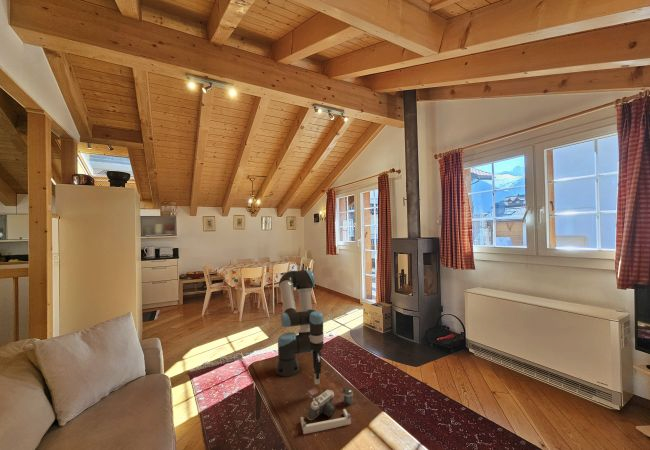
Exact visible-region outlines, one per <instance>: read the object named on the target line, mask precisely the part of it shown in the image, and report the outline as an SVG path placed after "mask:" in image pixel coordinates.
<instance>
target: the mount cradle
mask: <svg viewBox="0 0 650 450" xmlns="http://www.w3.org/2000/svg"><path fill="white" fill-rule="evenodd" d="M342 411H343V412H342V413H343V416H344V417H338V418H333V419H328V420H323V421H318V422H313V423H312V422H311V423H307V422H306V421H305V420H304V416H300V425H301V429H302V433H303V435H306V434H311V433H316V432H321V431H327V430H331V429H335V428H339V427H343V426H348V425H351V424H352V418H351V416H352V415H351V413H348V411H347V409H346V408H343V410H342Z"/></svg>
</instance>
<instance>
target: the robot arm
mask: <svg viewBox="0 0 650 450" xmlns="http://www.w3.org/2000/svg"><path fill="white" fill-rule="evenodd" d="M315 284H316V283H315V276H314V273H313V271H312V270H310V269H303V270H288V271H286V272H285V273H284V274H283V275H281V277H280V278H279V281H278V289H279V291H280V293H281V302H282V309H283V311H282V312H283V313H281V314H280V325H281V327H283V328H290V327H298V326H300V329H299V331H298V334H296V333H295V332H293V331H292V332H291V331H288V332H285V333H283V334H281V335H279V336H278V339H277V363H276V366H275V374H276V375H277V376H280V377H285V378H287V377H292V376H294V375H297V374H298V373H299V371H300V365H299V361H298V359H297V355H300V354H307V353H310V354H311V353H312V360H313V361H312V362H313V369H314V371H313V374H314V375H313V377H314V385H320V384H321V375H320V374H322V373H321V372H322V360H323V359H322V358H321V356H322V352H321V350H323V349H324V347H325V346H324V314H323V313H322V312H321V311H317V310H316V309H314V308H313V306H312V290H314V289H313V287H315ZM293 288H295V291H297V293H298V307H299V311H297V307H296V302H295V295H294V290H293Z"/></svg>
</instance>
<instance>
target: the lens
mask: <svg viewBox="0 0 650 450" xmlns="http://www.w3.org/2000/svg"><path fill="white" fill-rule="evenodd" d="M342 397H343V401H342V402H343V403H342V404H343V405H344V406H347V407H350V406H352V405H353V404H354V391H353V388H352V387H344V388H343V389H342Z"/></svg>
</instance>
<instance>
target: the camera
mask: <svg viewBox="0 0 650 450" xmlns="http://www.w3.org/2000/svg"><path fill="white" fill-rule="evenodd" d="M334 396H335V393H334V391H333V390H332V389H326V390H325V391H324V392H322V393H321V394H319V395H318V396H314V397H313V398H312V400H313V401H312V402H310V406H309V408H308V412H307V414H306V417H307V419H308V420H309V421H314V420H315V419H316V418H317V417H319V416H320V415H321V414H322V413H323V414H324V416H325V415H326V416H327V417H328V418H330V417H332V416H333V415H334V413H335V410H336V407H334V404H333V403H332V401H333V400H334Z"/></svg>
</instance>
